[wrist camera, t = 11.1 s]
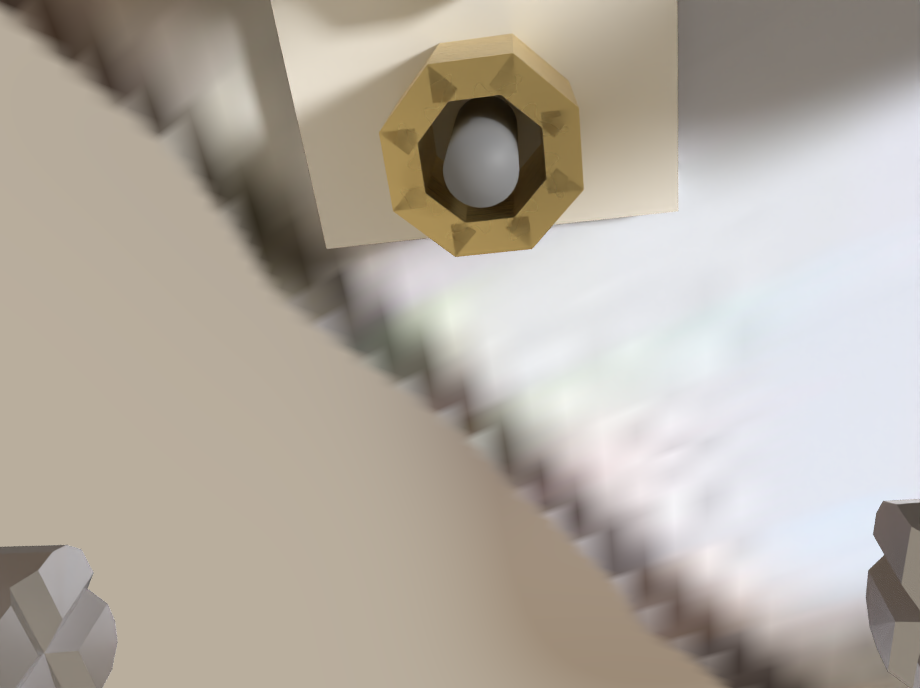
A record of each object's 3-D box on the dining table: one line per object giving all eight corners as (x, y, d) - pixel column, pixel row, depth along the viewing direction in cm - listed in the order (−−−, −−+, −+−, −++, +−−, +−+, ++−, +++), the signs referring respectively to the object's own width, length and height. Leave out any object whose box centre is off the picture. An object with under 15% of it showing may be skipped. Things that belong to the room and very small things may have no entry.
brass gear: (565, 25, 23) (575, 44, 20) (576, 199, 26) (587, 243, 22) (388, 50, 24) (367, 72, 21) (416, 217, 27) (402, 262, 23)
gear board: (671, 199, 27) (712, 270, 22) (333, 237, 28) (291, 311, 23) (667, -314, 21) (724, -399, 15) (229, -235, 22) (136, -287, 16)
